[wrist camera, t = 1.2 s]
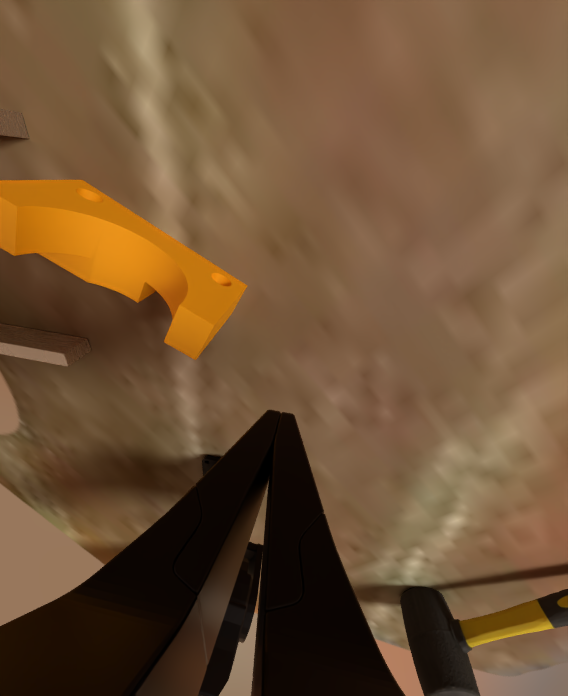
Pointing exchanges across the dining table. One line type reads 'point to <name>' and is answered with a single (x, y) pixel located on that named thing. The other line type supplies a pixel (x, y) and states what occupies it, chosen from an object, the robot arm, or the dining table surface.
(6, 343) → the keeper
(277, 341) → the dining table surface
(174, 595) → the robot arm
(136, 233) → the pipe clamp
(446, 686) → the mallet
